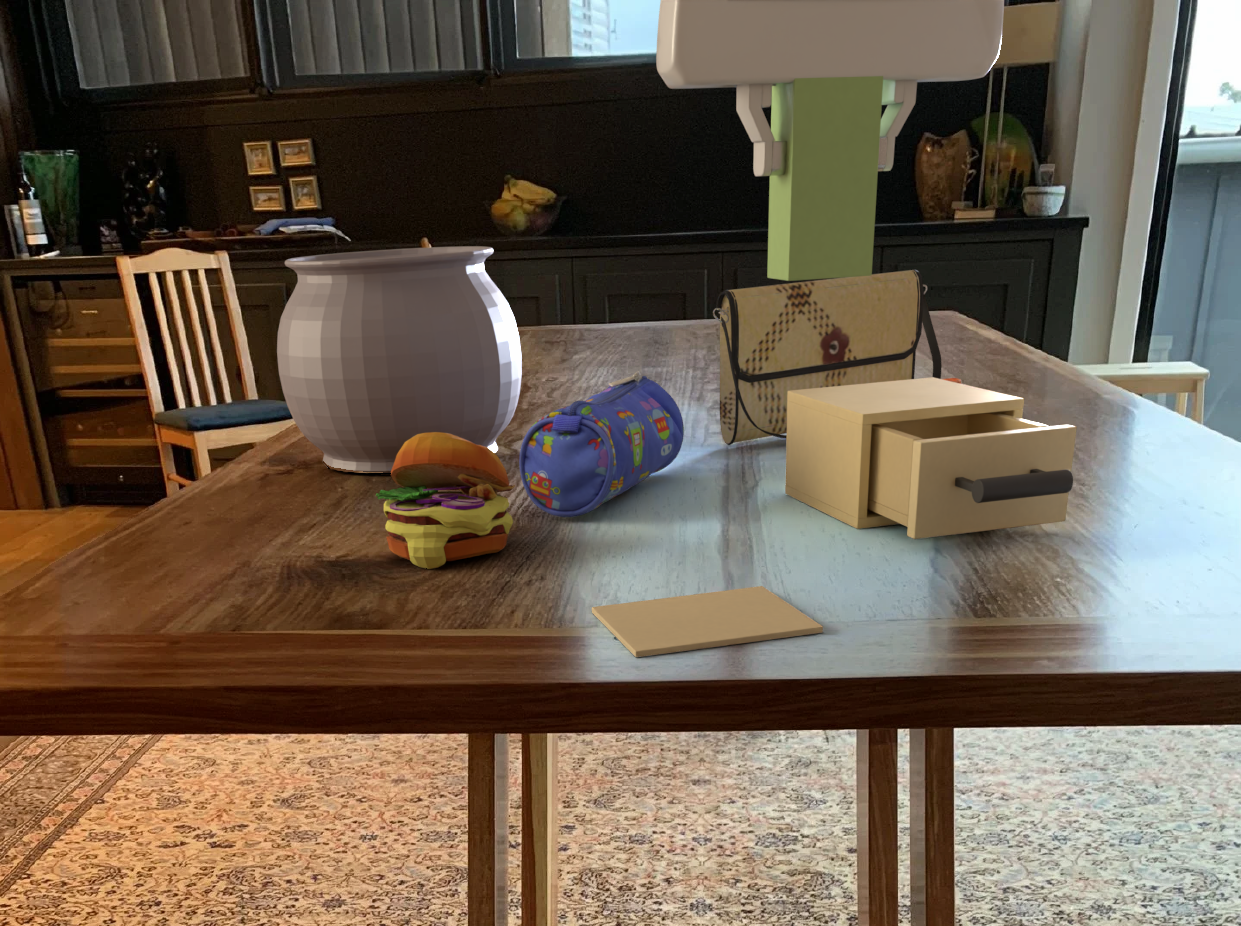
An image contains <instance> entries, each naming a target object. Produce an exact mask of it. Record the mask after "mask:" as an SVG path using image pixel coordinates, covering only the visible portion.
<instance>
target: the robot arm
mask: <svg viewBox="0 0 1241 926" xmlns="http://www.w3.org/2000/svg"><path fill="white" fill-rule="evenodd" d="M1004 10H1005V0H660V2H659V11H658V23H657V34H656V56H655V57H656V59H655V61H656V70H657V73H658V74H659V76H660V77H661V78H660V79H662V80H663V82H664V84H665V85H666V87H667V88H669V89H670V90H671V89H672V90H679V89H681V90H682V89H683V90H685V89H716V88H717V89H718V88H721V89H722V88H736V96H735V97H736V105H735V107H736V108H735V109H736V111H735V112H736V113H737V115H738V117H739V120H740V121H741V123H742V125H743V127H744V129H745V131H746V134H747V135H748V138H749V139H750V142H751V143H753V163H752V165H753V166H752V167H753V168H752V170H753V174H754V177H770V176H776V175H784V174H785V172H786V164H787V161H786V159H785V157H786V155H787V141H775V139H774V136H773V134H772V132H771V126H770V125H769V122H768V120H767V118H766V116H765V113H764V111H763V109H764V108H771V105H772V86H776V83H793V81H794V79H795V78H828V77H867V76H883V90H882V106H886V108H885V110H884V112H883V114H882V115H881V124H880V141H879V158H878V172H889V171H891V170H892V169H893V166H894V160H895V159H894V158H895V144H896V137H898V136H899V134H900V132H901V131H902V129H903V127H904V124H905V123H906V121H907V119H908V117H909V116H910V114H911V112H912V110H913V108H914V106H915V105H916V103H917V102H916V101H917V89H918V83H928V82H929V83H930V82H931V83H932V82H935V83H937V82H960V81H971V80H977V79H981V78H984V77H985V76H986V75H987V74H988V73H989V71H991V68H992V67H993V65H994V64H995V63H996V61H997V59H998V58H999V55H1000V50H1001V45H1002V38H1003V37H1002V36H1003V25H1004V24H1003V23H1004Z"/></svg>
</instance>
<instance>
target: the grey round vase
mask: <svg viewBox="0 0 1241 926" xmlns="http://www.w3.org/2000/svg"><path fill="white" fill-rule="evenodd" d="M494 252H495V251H494V248H493V247H491V246H479V245H478V246H477V245H476V246H475V245H473V246H472V245H471V246H470V245H469V246H467V245H466V246H465V245H464V246H463V245H462V246H434V247H433V246H431V247H430V246H429V247H413V248H396V249H395V248H394V249H378V250H377V249H376V250H364V251H350V252H349V251H348V252H336V253H325V254H316V255H315V254H314V255H306V256H305V255H304V256H299V257H291V258H288V259H286V260H284V265H285V267H287V268H289V269H291V270H293V271H294V273H295V274H296V275H297V283H296V284H295V287H294V289H293V291H292V292H291V295H290V297H289V299H288V301H287V302H286V304H285V307H284V309H283V312H282V314H281V316H280V319H279V325H278V330H277V340H276V341H277V342H276V343H277V344H276V353H277V368H278V375H279V381H280V384H281V389H282V393H283V396H284V399H285V402H286V405H287V409H288V410H289V412H290V415H291V417H292V419H293V421H294V424H295V425H296V427H297V428H298V430H299V431H300V432H301V434H302V435H303V436H304V437H305V438H306V439H307V440H308V441H309V442H310V443H311V444H313V446H315V447H316V448H317V449H319V451H322V453H323V458H322V462H323V461H324V462H325V463H326V464H327V465H329V466H331V467H334V468H341V469H346V470H353V471H363V472H383V473H391V470H392V467H393V465H394V462H395V459H396V456H397V454H398V452H399V450H400V449H401V447H402V446H403V444H404V443H405V442H406V441H407V440H409V439H411V438H412V437H414V436H415V435H417V434H421V433H429V432H441V433H449V434H452V435H455V436H458V437H460V438H463V439H465V440H468V441H470V442H472V443H474V444H476V445H482V446H484V447H487V448H489V449H490V450H491V451H493V452H494V453H495V454H496V453H497V451H498V450H499V447H498V445H497V442H496V441H497V438H499V436H500V435H501V434H502V433H503V432H504V430H506V428H507V427H508V426H509V424H510V423H511V421H512V419H513V417H514V416H515V412H516V409H517V406H518V402H519V398H520V393H521V386H522V376H523V374H522V373H523V372H522V371H523V370H522V364H523V363H522V362H523V361H522V359H523V357H522V348H521V341H520V335H519V331H518V327H517V322H516V318H515V316H514V313H513V311H512V309H511V307H510V304H509V302H508V300H507V299H506V297H505V296H504V294H503V293H502V291H501V290H500V288H498V286H497V284H496V283H495V282H494V281H493V280H492V278H491V277H490V276H489V274H488V272H486V270H485V262H486V259H487V258H488V257H490V256H491V255H493V254H494Z"/></svg>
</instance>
